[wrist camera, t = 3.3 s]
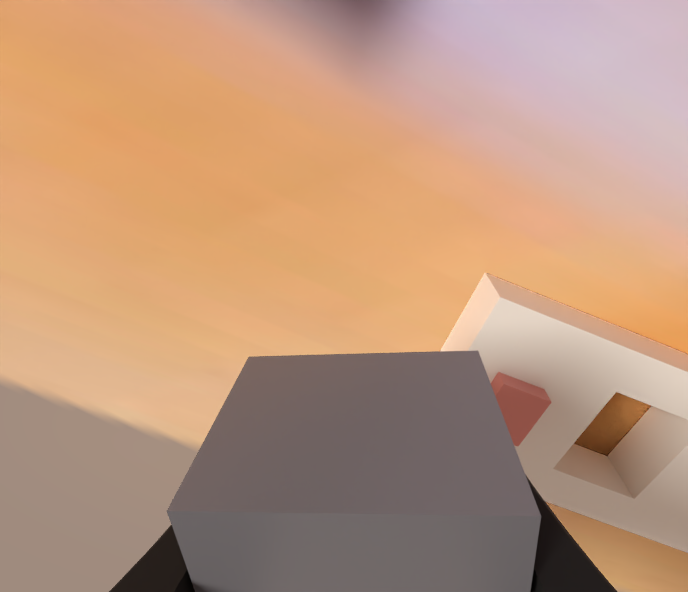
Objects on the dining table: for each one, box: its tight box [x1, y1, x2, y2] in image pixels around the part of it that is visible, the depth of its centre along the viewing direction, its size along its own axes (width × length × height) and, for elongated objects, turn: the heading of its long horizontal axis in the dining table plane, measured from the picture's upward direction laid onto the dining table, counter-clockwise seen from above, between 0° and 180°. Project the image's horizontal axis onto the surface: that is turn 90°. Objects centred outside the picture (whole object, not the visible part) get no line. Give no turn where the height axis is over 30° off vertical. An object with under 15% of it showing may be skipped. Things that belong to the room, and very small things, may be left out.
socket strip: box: [440, 273, 688, 553], centre depth 19 cm, size 20×8×3 cm, turn 69°
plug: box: [167, 350, 541, 592], centre depth 10 cm, size 5×6×6 cm
